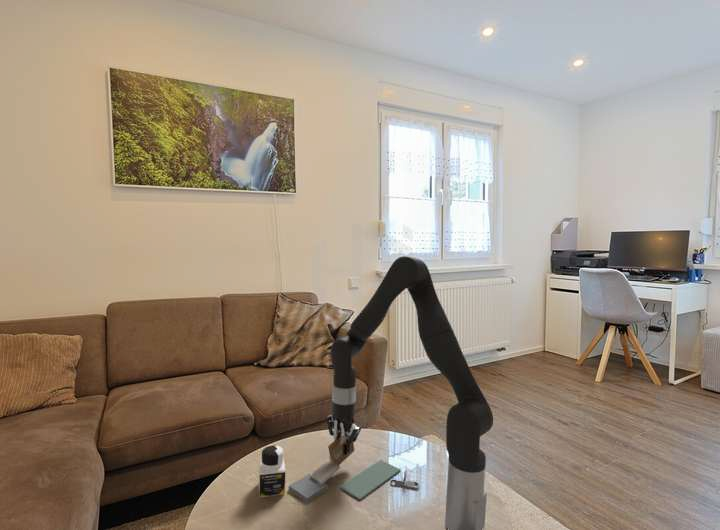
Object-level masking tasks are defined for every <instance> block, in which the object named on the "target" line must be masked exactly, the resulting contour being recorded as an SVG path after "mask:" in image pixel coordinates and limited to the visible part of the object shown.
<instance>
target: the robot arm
mask: <svg viewBox="0 0 720 530" xmlns="http://www.w3.org/2000/svg"><path fill="white" fill-rule="evenodd" d="M406 289H407V291H408V292H409V295H410V297H411V299H412V301H413V303H414V306H415V309H416V310H415V311H416V316H417V317H416V318H417V329H418V335H419V338H420V341H421V343H422V346H423V348H424V352H425V354H426V356H427V359H429V362H431V364H432V365H433V366H434V367H435V368H436V369H437V370H438V371H439V372H440V373H441V375H442V376H443V377H444V378H446V380H447V382H449V384H450V386H451V388H452V389H453V391H454V394H455V397H456V400H457V402H458V403H456V404H455V405H453V406H451V407H450V409H449V410H448V412H447V417H446V427H445V428H446V429H445V430H446V431H445V433H446V434H445V437H446V438H445V441H446V443H445V446H446V451H447V453H448V463H447V464H448V465H447V477H446V478H447V480H446V481H447V482H446V496H445V512H444V513H445V514H444V517H445V518H444V525H445V528H446V527H447V528H448V529H449V530H482V529H483V528H484V527H485V528H486V526H485V525H486V512H487V510H486V509H487V493H485V480H486V479H485V478H486V477H485V476H486V464H487V457H486V454H485V453H484V451H483V450H482V449H480V448H481V447H480V441H481V437H482V436H484V435H485V434H486V433H488V432H489V431H490V430H491V429H492V427H493V424H494V416H493V411H492V409H491V407H490V405H489V403H488V401H487V399H486V397H485V395H484V394H483V392H482V390H481V389H480V386H479V384H478V383H477V380H475V378H474V375H473V373H472V371H471V369H470V366H469V364H468V362H467V360H466V357H465V356H464V352H463V351H462V348H461V346H460V343H459V341H458V338H457V336H456V334H455V331H454V329H453V327H452V325H451V323H450V321H449V319H448V317H447V315H446V312H445V310H444V308H443V306H442V304H441V301H440V299H439V297H438V294H437V292H436V289H435V285H434V282H433V280H432V276H431V273H430V269H429V268H428V266H427V264H426V263H425V262H424V261H423V260H422V259H420V258H416V257H414V256H408V255H402V256H400V257H398V258H396V259H395V260H394V261H393V262H392V263H391V266H390V267H389V268H388V271H387V272H386V275H385V276H384V277H383V279H382V281H381V283H380V284H379V285H378V287H377V289H376V290H375V292H374V294H373V296H371V298H370V299H369V301H368V302H367V304H365V306H364V307H363V309H361V311H360V312H359V314H358V315H357V316H356V317H355V319H353V321H352V322H351V324H350V327H349V330H348V331H347V332H346V333H345V335H343V336H341V337H338V338H337V339H335V340H334V342H333V343H332V345H331V349H330V360H331V364H332V369H333V385H332V391H331V414H329V415H327V416H326V417H325V421H326V424H327V428H328V432H329V436H332V437H333V439H334V441H335V440H336V439H337V438H339V437H340V436H341V435H342V436H343V443H344V444H343V455H347V454H348V453H349V452H350V444H352V443H353V444H354V443H355V442H356V441H357V439H358V437H359V435H360V433H361V431H362V427H361V426H357V425H356V423H355V418H354V417H355V414H356V407H357V405H356V404H357V403H356V402H357V390H356V389H357V388H356V387H357V385H356V383H357V370H356V368H355V367H354V366H353V365H352V358H353V357H355V356H357V354H359V353H360V352H361V350H362V349H363V348H364V346H365V345H366V342H368V339H369V338H370V337H371V336H372V335H373V334H374V332H375V333H376V330H377V329H378V328H379V327H380V326H381V324H382V323H383V321H384V320H385V318H386V317H387V314H388V312H389V309H390V307H391V305H392V303H393V302H394V301H395V300H396V299H397V297H398V296H399V295H400V294H402V292H404V291H405V290H406ZM447 528H446V529H447ZM485 528H484V529H485ZM448 529H447V530H448Z"/></svg>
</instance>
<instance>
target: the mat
mask: <svg viewBox="0 0 720 530" xmlns="http://www.w3.org/2000/svg"><path fill="white" fill-rule="evenodd" d="M400 472H401V469H400V468H398V467H396V466H394V465H392V464H390V463H388V462H386V461H384V460H382V459H379V460H378V461H377V462H375V463H374V464H372V465H370V466H369V467H367V468H365V469H364V470H363V471H361V472H359V473H358V474H357V475H355V476H354V477H352V478H350V479H349V480H347V481H345V482H344V483H342V484H341V485H340V486H339V490H341V491H343V492H345V493H346V494H348V495H350V496H351V497H353V498H354V499H357V500H358V501H362V500H363V499H364V498H365V497H367V496H368V495H370V494H371V493H372V492H374V491H375V490H377V489H378V488H380V487H381V486H383V485H384V484H385V483H386V482H388V481H389V480H391V479H392V478H393V477H395V476H396V475H398V474H399V473H400Z"/></svg>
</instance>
